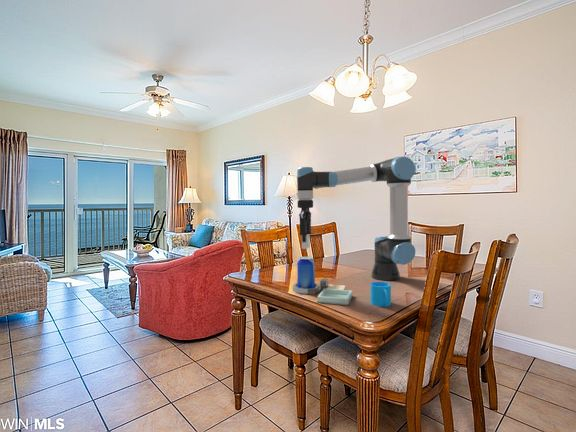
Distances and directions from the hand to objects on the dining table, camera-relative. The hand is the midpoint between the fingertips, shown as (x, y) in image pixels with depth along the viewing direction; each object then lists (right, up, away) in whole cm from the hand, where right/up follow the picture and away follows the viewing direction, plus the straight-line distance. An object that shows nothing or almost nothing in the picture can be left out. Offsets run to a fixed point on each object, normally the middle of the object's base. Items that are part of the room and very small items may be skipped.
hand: (305, 248), depth 151 cm
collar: (0, -21, +1) cm, 21 cm away
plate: (+14, -21, -2) cm, 25 cm away
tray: (+12, -21, -14) cm, 28 cm away
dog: (+9, -20, 0) cm, 22 cm away
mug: (+31, -22, -22) cm, 43 cm away
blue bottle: (0, -21, +1) cm, 21 cm away
